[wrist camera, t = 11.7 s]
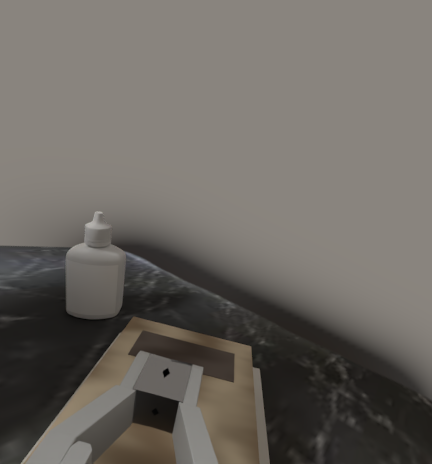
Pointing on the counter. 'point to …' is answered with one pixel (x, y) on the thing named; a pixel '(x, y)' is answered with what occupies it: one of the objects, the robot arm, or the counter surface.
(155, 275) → the counter surface
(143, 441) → the block
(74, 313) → the eye dropper bottle
